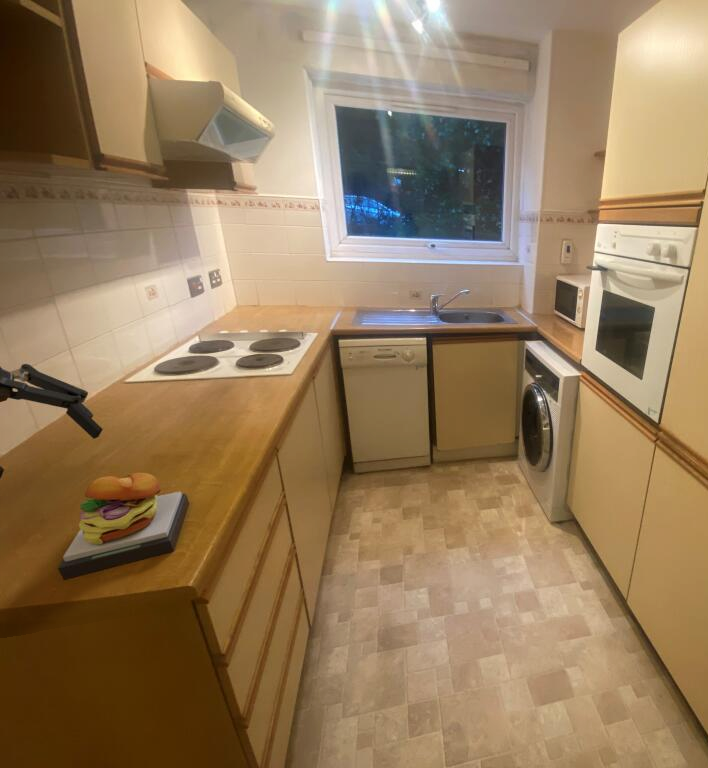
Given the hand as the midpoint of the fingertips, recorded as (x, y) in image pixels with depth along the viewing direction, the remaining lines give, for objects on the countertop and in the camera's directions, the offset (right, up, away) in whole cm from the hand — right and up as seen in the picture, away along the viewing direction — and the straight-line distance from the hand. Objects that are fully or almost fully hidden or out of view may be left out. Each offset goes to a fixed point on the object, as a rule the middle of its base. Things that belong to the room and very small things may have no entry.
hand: (53, 453), depth 72 cm
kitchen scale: (+10, -15, +4) cm, 19 cm away
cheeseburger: (+10, -12, +2) cm, 16 cm away
